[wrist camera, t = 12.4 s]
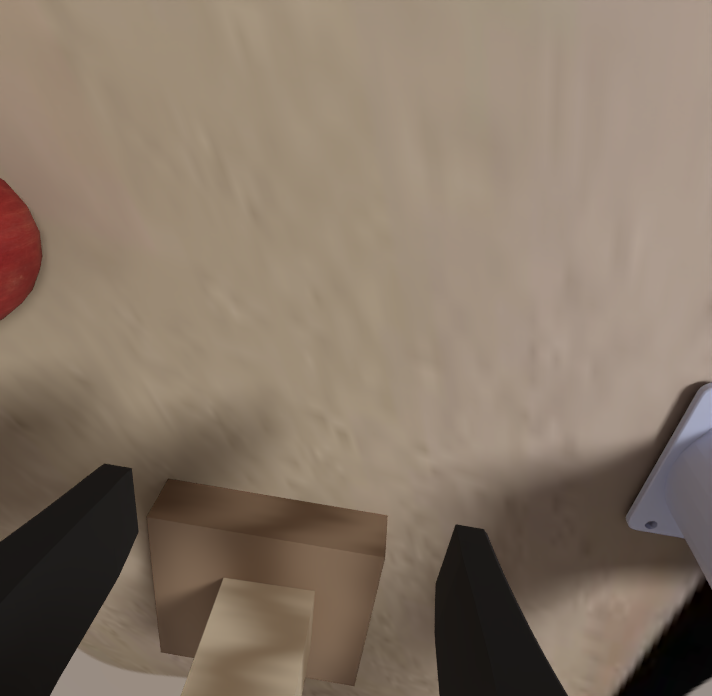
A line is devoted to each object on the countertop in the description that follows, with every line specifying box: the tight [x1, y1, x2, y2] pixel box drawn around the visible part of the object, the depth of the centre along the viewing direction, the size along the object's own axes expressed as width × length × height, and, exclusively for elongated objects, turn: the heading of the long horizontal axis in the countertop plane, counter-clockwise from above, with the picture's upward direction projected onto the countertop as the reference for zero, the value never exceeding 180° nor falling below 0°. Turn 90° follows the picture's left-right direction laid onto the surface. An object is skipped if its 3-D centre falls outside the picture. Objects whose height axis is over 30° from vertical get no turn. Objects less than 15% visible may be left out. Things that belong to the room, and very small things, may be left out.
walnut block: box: [147, 479, 388, 686], centre depth 28 cm, size 11×11×3 cm
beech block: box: [181, 578, 315, 696], centre depth 24 cm, size 4×4×6 cm
